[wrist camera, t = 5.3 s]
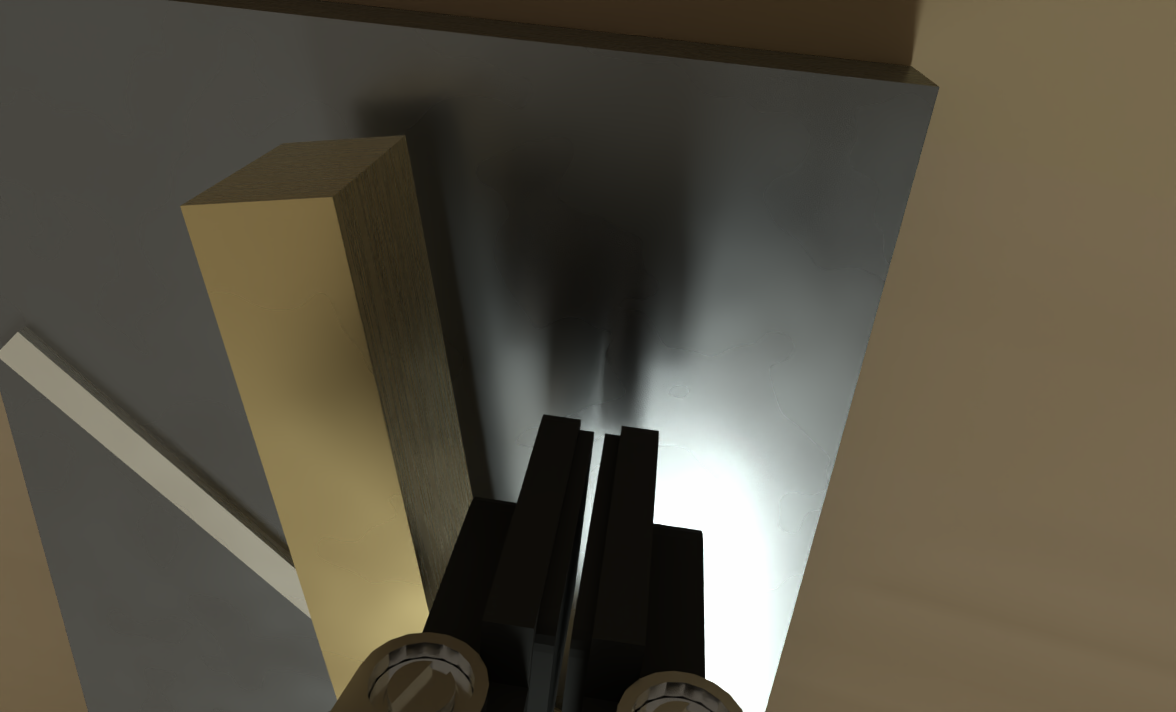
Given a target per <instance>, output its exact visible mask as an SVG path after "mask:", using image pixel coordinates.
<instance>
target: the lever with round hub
mask: <svg viewBox="0 0 1176 712" xmlns="http://www.w3.org/2000/svg"><path fill="white" fill-rule="evenodd" d="M180 207H181V210H182V214H183V217H184V220H185V223H186V226H187V229H188V232H189V236H190V239H191V242H192V245H193V248H194V251H195V254H196V258H197V261H198V264H199V267H200V270H201V273H202V276H203V280H204V283H205V286H206V289H207V292H208V295H209V298H210V302H211V305H212V308H213V311H214V314H215V317H216V320H217V324H218V327H219V330H220V333H221V336H222V339H223V342H224V346H225V349H226V352H227V355H228V358H229V361H230V364H231V368H232V371H233V374H234V377H235V380H236V383H237V387H238V390H239V393H240V396H241V399H242V402H243V405H244V409H245V412H246V415H247V418H248V421H249V424H250V427H251V431H252V434H253V437H254V440H255V443H256V446H257V449H258V453H259V456H260V459H261V462H262V465H263V468H264V471H265V475H266V478H267V481H268V484H269V487H270V490H271V493H272V497H273V500H274V503H275V506H276V509H277V512H278V515H279V519H280V522H281V525H282V528H283V531H284V534H285V537H286V541H287V544H288V547H289V550H290V553H291V556H292V559H293V563H294V566H295V569H296V572H297V575H298V578H299V581H300V585H301V588H302V591H303V594H304V597H305V600H306V603H307V607H308V610H309V613H310V616H311V619H312V622H313V626H314V629H315V632H316V635H317V638H318V641H319V644H320V648H321V651H322V654H323V657H324V660H325V663H326V666H327V670H328V673H329V676H330V679H331V682H332V685H333V688H334V692H335V695H336V698H337V700H338V699H339V697H340V695H341V694H342V692H343V691H344V689H345V688H346V686H347V685H348V683H349V682H350V680H351V678H352V677H353V675H354V674H355V672H356V671H357V669H358V668H359V666H360V665H361V664H362V662H363V661H364V660H365V659H366V658H367V657H368V656H369V655H370V653H371V652H372V651H373V650H375V649H376V648H378V647H380V646H381V645H383V644H384V643H386V642H388V641H389V640H392V639H395V638H398V637H401V636H404V635H407V634H412V633H422V632H423V629H424V626H425V624H426V621H427V618H428V616H429V613H430V610H431V608H432V605H433V602H434V600H435V597H436V594H437V591H438V589H439V586H440V583H441V581H442V578H443V575H444V573H445V570H446V567H447V565H448V562H449V559H450V557H451V554H452V551H453V549H454V546H455V543H456V541H457V538H458V535H459V533H460V530H461V527H462V525H463V522H464V519H465V517H466V514H467V511H468V509H469V506H470V504H471V502H472V499H473V496H472V491H471V486H470V480H469V475H468V469H467V464H466V459H465V453H464V448H463V442H462V437H461V432H460V426H459V421H458V415H457V410H456V405H455V399H454V394H453V388H452V383H451V378H450V372H449V367H448V361H447V356H446V351H445V345H444V340H443V335H442V329H441V324H440V318H439V313H438V308H437V302H436V297H435V291H434V286H433V281H432V275H431V270H430V264H429V259H428V254H427V248H426V243H425V237H424V232H423V227H422V221H421V216H420V210H419V205H418V200H417V194H416V189H415V183H414V178H413V173H412V167H411V162H410V156H409V151H408V146H407V140H406V135H399V136H384V137H369V138H354V139H339V140H324V141H309V142H294V143H282V144H281V145H279V146H277V147H276V148H274V149H272V150H271V151H269V152H268V153H266V154H264V155H263V156H261V157H259V158H258V159H256V160H254V161H253V162H251V163H250V164H248V165H246V166H245V167H243V168H241V169H240V170H238V171H236V172H235V173H233V174H232V175H230V176H228V177H227V178H225V179H223V180H222V181H220V182H218V183H217V184H215V185H213V186H212V187H210V188H209V189H207V190H205V191H204V192H202V193H200V194H199V195H197V196H195V197H194V198H192V199H191V200H189V201H187V202H186V203H184V204H182V205H181V206H180ZM554 712H562V711H561V710H559V709H558V708H556V707H554Z"/></svg>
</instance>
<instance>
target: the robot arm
mask: <svg viewBox="0 0 1176 712" xmlns="http://www.w3.org/2000/svg"><path fill="white" fill-rule="evenodd" d="M580 429H581V420H580V419H574V418H567V417H560V416H553V415H546V414H544V415H543V416H542V419H541V423H540V426H539V429H538V433H537V436H536V439H535V443H534V446H533V450H532V453H531V456H530V460H529V463H528V466H527V470H526V473H525V476H524V480H523V483H522V487H521V490H520V493H519V497H518V500H517V503H515V502H508V501H501V500H495V499H488V498H481V497H474V498H473V499H472V502H471V504H470V506H469V509H468V511H467V514H466V517H465V519H464V522H463V525H462V527H461V530H460V533H459V535H458V538H457V541H456V543H455V546H454V549H453V551H452V554H451V557H450V559H449V562H448V565H447V567H446V570H445V573H444V575H443V578H442V581H441V583H440V586H439V589H438V591H437V594H436V597H435V600H434V602H433V605H432V608H431V610H430V613H429V616H428V618H427V621H426V624H425V626H424V629H423V632H422V633H412V634H407V635H404V636H401V637H398V638H395V639H392V640H389V641H388V642H386V643H384V644H383V645H381V646H380V647H378V648H376V649H375V650H373V651H372V652H371V653H370V655H369V656H368V657H367V658H366V659H365V660H364V661H363V662H362V664H361V665H360V666H359V668H358V669H357V671H356V672H355V674H354V675H353V677H352V678H351V680H350V682H349V683H348V685H347V686H346V688H345V689H344V691H343V692H342V694H341V695H340V697H339V699H338V700H337V702H336V703H335V705H334V706H333V708H332V709H331V711H329V712H554V707H555V701H556V695H557V690H558V684H559V678H560V672H561V667H562V661H563V655H564V650H565V644H566V638H567V632H568V627H569V621H570V615H571V609H572V604H573V598H574V591H575V585H576V578H577V570H578V562H579V554H580V546H581V538H582V530H583V522H584V514H585V506H586V498H587V490H588V482H589V473H590V465H591V457H592V449H593V441H594V432H593V431H586V430H580ZM658 444H659V431H657V430H650V429H643V428H636V427H629V426H621V433H620V435H614V434H607V433H605V437H604V443H603V449H602V455H601V461H600V467H599V473H598V479H597V485H596V491H595V497H594V502H593V508H592V514H591V520H590V526H589V532H588V538H587V544H586V550H585V556H584V562H583V568H582V574H581V580H580V586H579V592H578V598H577V604H576V610H575V616H574V622H573V629H572V636H571V643H570V650H569V657H568V665H567V673H566V681H565V689H564V697H563V705H562V712H743V710H742V709H741V707H740V706H739V705H738V704H737V702H736V701H735V700H734V699H733V697H732V696H731V695H730V694H729V693H728V692H726V691H725V690H723V689H722V688H721V687H719V686H718V685H717V684H715V683H714V682H712V681H710V680H707V679H705V616H704V549H703V533H702V530H695V529H688V528H682V527H675V526H668V525H662V524H655V523H653V521H654V505H655V490H656V475H657V460H658Z"/></svg>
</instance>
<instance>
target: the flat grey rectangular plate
mask: <svg viewBox="0 0 1176 712" xmlns="http://www.w3.org/2000/svg"><path fill="white" fill-rule="evenodd" d="M938 90H939V86H937V85H936V84H935V83H933V82H932V81H931V80H929V79H928V78H927V77H925V76H924V75H923V74H921V73H920V72H919V71H917V70H916V69H915V68H913V67H911V66H903V65H894V64H885V63H876V62H867V61H858V60H849V59H840V58H831V57H822V56H813V55H804V54H795V53H786V52H777V51H768V50H759V49H750V48H741V47H732V46H723V45H714V44H705V43H696V42H687V41H678V40H669V39H660V38H651V37H642V36H633V35H624V34H615V33H606V32H597V31H588V30H579V29H570V28H561V27H552V26H543V25H534V24H525V23H517V22H508V21H499V20H490V19H481V18H472V17H463V16H454V15H445V14H436V13H427V12H418V11H409V10H400V9H391V8H382V7H373V6H364V5H355V4H346V3H337V2H328V1H319V0H0V392H1V395H2V399H3V403H4V406H5V410H6V413H7V417H8V421H9V424H10V428H11V432H12V435H13V439H14V443H15V446H16V450H17V454H18V457H19V461H20V464H21V468H22V472H23V475H24V479H25V483H26V486H27V490H28V494H29V497H30V501H31V505H32V508H33V512H34V515H35V519H36V523H37V526H38V530H39V534H40V537H41V541H42V545H43V548H44V552H45V556H46V559H47V563H48V566H49V570H50V574H51V577H52V581H53V585H54V588H55V592H56V596H57V599H58V603H59V607H60V610H61V614H62V617H63V621H64V625H65V628H66V632H67V636H68V639H69V643H70V647H71V650H72V654H73V658H74V661H75V665H76V668H77V672H78V676H79V679H80V683H81V687H82V690H83V694H84V698H85V701H86V705H87V709H88V712H329V711H331V709H332V708H333V706H334V705H335V703H336V702H337V698H336V695H335V692H334V688H333V685H332V682H331V679H330V676H329V673H328V670H327V666H326V663H325V660H324V657H323V654H322V651H321V648H320V644H319V641H318V638H317V635H316V632H315V629H314V626H313V622H312V619H311V616H310V613H309V610H308V607H307V603H306V600H305V597H304V594H303V591H302V588H301V585H300V581H299V578H298V575H297V572H296V569H295V566H294V563H293V559H292V556H291V553H290V550H289V547H288V544H287V541H286V537H285V534H284V531H283V528H282V525H281V522H280V519H279V515H278V512H277V509H276V506H275V503H274V500H273V497H272V493H271V490H270V487H269V484H268V481H267V478H266V475H265V471H264V468H263V465H262V462H261V459H260V456H259V453H258V449H257V446H256V443H255V440H254V437H253V434H252V431H251V427H250V424H249V421H248V418H247V415H246V412H245V409H244V405H243V402H242V399H241V396H240V393H239V390H238V387H237V383H236V380H235V377H234V374H233V371H232V368H231V364H230V361H229V358H228V355H227V352H226V349H225V346H224V342H223V339H222V336H221V333H220V330H219V327H218V324H217V320H216V317H215V314H214V311H213V308H212V305H211V302H210V298H209V295H208V292H207V289H206V286H205V283H204V280H203V276H202V273H201V270H200V267H199V264H198V261H197V258H196V254H195V251H194V248H193V245H192V242H191V239H190V236H189V232H188V229H187V226H186V223H185V220H184V217H183V214H182V210H181V207H180V206H181V205H182V204H184V203H186V202H187V201H189V200H191V199H192V198H194V197H195V196H197V195H199V194H200V193H202V192H204V191H205V190H207V189H209V188H210V187H212V186H213V185H215V184H217V183H218V182H220V181H222V180H223V179H225V178H227V177H228V176H230V175H232V174H233V173H235V172H236V171H238V170H240V169H241V168H243V167H245V166H246V165H248V164H250V163H251V162H253V161H254V160H256V159H258V158H259V157H261V156H263V155H264V154H266V153H268V152H269V151H271V150H272V149H274V148H276V147H277V146H279V145H281V144H282V143H294V142H309V141H324V140H339V139H354V138H369V137H384V136H399V135H406V140H407V146H408V151H409V156H410V162H411V167H412V173H413V178H414V183H415V189H416V194H417V200H418V205H419V210H420V216H421V221H422V227H423V232H424V237H425V243H426V248H427V254H428V259H429V264H430V270H431V275H432V281H433V286H434V291H435V297H436V302H437V308H438V313H439V318H440V324H441V329H442V335H443V340H444V345H445V351H446V356H447V361H448V367H449V372H450V378H451V383H452V388H453V394H454V399H455V405H456V410H457V415H458V421H459V426H460V432H461V437H462V442H463V448H464V453H465V459H466V464H467V469H468V475H469V480H470V486H471V491H472V496H473V498H474V497H481V498H488V499H495V500H501V501H508V502H515V503H517V500H518V497H519V493H520V490H521V487H522V483H523V480H524V476H525V473H526V470H527V466H528V463H529V460H530V456H531V453H532V450H533V446H534V443H535V439H536V436H537V433H538V429H539V426H540V423H541V419H542V416H543V415H544V414H546V415H553V416H560V417H567V418H574V419H580V420H581V429H580V430H586V431H593V432H594V441H593V449H592V457H591V465H590V473H589V482H588V490H587V498H586V506H585V514H584V522H583V530H582V538H581V546H580V554H579V562H578V570H577V578H576V585H575V591H574V598H573V604H572V609H571V615H570V621H569V627H568V632H567V638H566V644H565V650H564V655H563V661H562V667H561V672H560V678H559V684H558V690H557V695H556V701H555V707H556V708H558V709H559V710H561V711H562V705H563V697H564V689H565V681H566V673H567V665H568V657H569V650H570V643H571V636H572V629H573V622H574V616H575V610H576V604H577V598H578V592H579V586H580V580H581V574H582V568H583V562H584V556H585V550H586V544H587V538H588V532H589V526H590V520H591V514H592V508H593V502H594V497H595V491H596V485H597V479H598V473H599V467H600V461H601V455H602V449H603V443H604V437H605V433H607V434H614V435H620V433H621V426H629V427H636V428H643V429H650V430H657V431H659V444H658V460H657V475H656V490H655V505H654V521H653V523H655V524H662V525H668V526H675V527H682V528H688V529H695V530H702V533H703V549H704V616H705V679H707V680H710V681H712V682H714V683H715V684H717V685H718V686H719V687H721V688H722V689H723V690H725V691H726V692H728V693H729V694H730V695H731V696H732V697H733V699H734V700H735V701H736V702H737V704H738V705H739V706H740V707H741V709H742V710H743V712H765V710H766V706H767V703H768V699H769V696H770V692H771V688H772V685H773V681H774V678H775V674H776V671H777V667H778V663H779V660H780V656H781V653H782V649H783V645H784V642H785V638H786V635H787V631H788V628H789V624H790V620H791V617H792V613H793V610H794V606H795V602H796V599H797V595H798V592H799V588H800V585H801V581H802V577H803V574H804V570H805V567H806V563H807V559H808V556H809V552H810V549H811V545H812V542H813V538H814V534H815V531H816V527H817V524H818V520H819V516H820V513H821V509H822V506H823V502H824V499H825V495H826V491H827V488H828V484H829V481H830V477H831V473H832V470H833V466H834V463H835V459H836V456H837V452H838V448H839V445H840V441H841V438H842V434H843V430H844V427H845V423H846V420H847V416H848V413H849V409H850V405H851V402H852V398H853V395H854V391H855V387H856V384H857V380H858V377H859V373H860V370H861V366H862V362H863V359H864V355H865V352H866V348H867V344H868V341H869V337H870V334H871V330H872V327H873V323H874V319H875V316H876V312H877V309H878V305H879V301H880V298H881V294H882V291H883V287H884V284H885V280H886V276H887V273H888V269H889V266H890V262H891V258H892V255H893V251H894V248H895V244H896V241H897V237H898V233H899V230H900V226H901V223H902V219H903V215H904V212H905V208H906V205H907V201H908V198H909V194H910V190H911V187H912V183H913V180H914V176H915V172H916V169H917V165H918V162H919V158H920V155H921V151H922V147H923V144H924V140H925V137H926V133H927V129H928V126H929V122H930V119H931V115H932V112H933V108H934V104H935V101H936V97H937V94H938Z"/></svg>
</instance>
